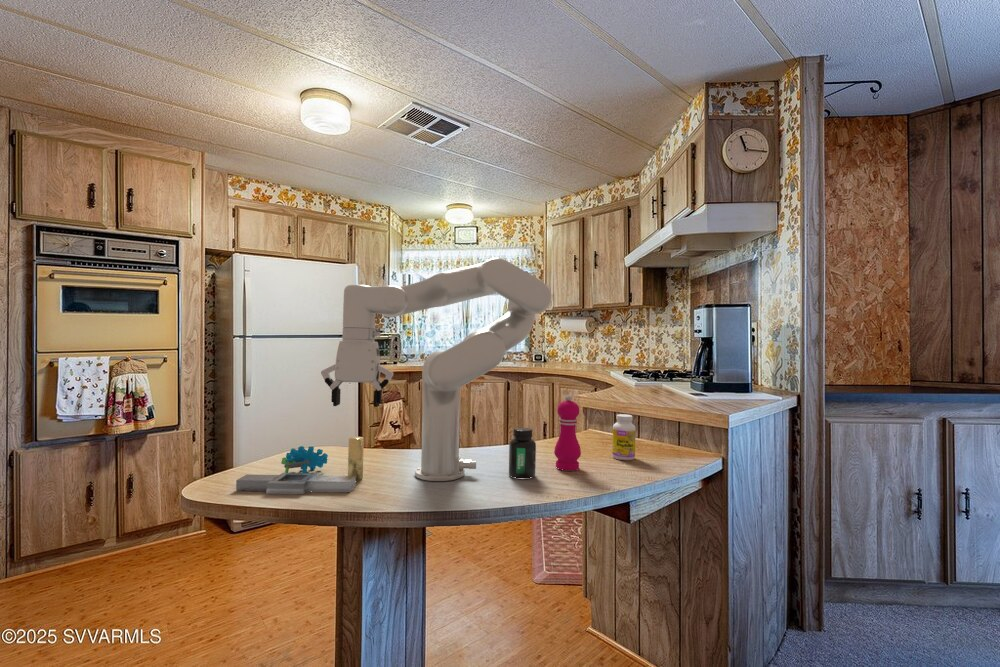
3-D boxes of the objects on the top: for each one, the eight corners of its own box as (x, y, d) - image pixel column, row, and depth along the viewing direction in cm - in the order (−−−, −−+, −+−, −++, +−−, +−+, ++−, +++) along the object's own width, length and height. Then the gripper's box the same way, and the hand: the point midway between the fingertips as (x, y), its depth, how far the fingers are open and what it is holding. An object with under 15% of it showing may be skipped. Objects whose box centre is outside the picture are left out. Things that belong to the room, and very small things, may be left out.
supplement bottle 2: (612, 460, 138) (613, 416, 138) (611, 454, 145) (612, 413, 145) (636, 461, 137) (637, 417, 137) (633, 456, 144) (634, 414, 144)
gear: (333, 462, 123) (321, 441, 116) (330, 483, 119) (317, 462, 112) (290, 467, 123) (276, 447, 116) (286, 488, 119) (270, 468, 112)
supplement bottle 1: (524, 481, 115) (525, 432, 116) (503, 475, 120) (504, 428, 120) (540, 476, 120) (541, 429, 121) (519, 470, 125) (520, 425, 125)
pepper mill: (584, 467, 130) (586, 394, 130) (574, 473, 123) (575, 397, 124) (560, 463, 133) (562, 392, 134) (549, 468, 127) (550, 395, 128)
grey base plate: (357, 483, 111) (357, 473, 111) (347, 495, 103) (347, 484, 103) (250, 482, 110) (250, 472, 110) (231, 493, 102) (231, 482, 102)
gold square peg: (364, 477, 116) (365, 436, 116) (360, 481, 112) (361, 439, 113) (350, 477, 116) (351, 436, 116) (345, 481, 112) (346, 439, 113)
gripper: (397, 336, 119) (395, 404, 118) (328, 335, 118) (326, 403, 118) (391, 336, 111) (388, 409, 111) (317, 334, 111) (315, 407, 110)
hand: (356, 405), depth 114 cm, fingers open, 9 cm apart
